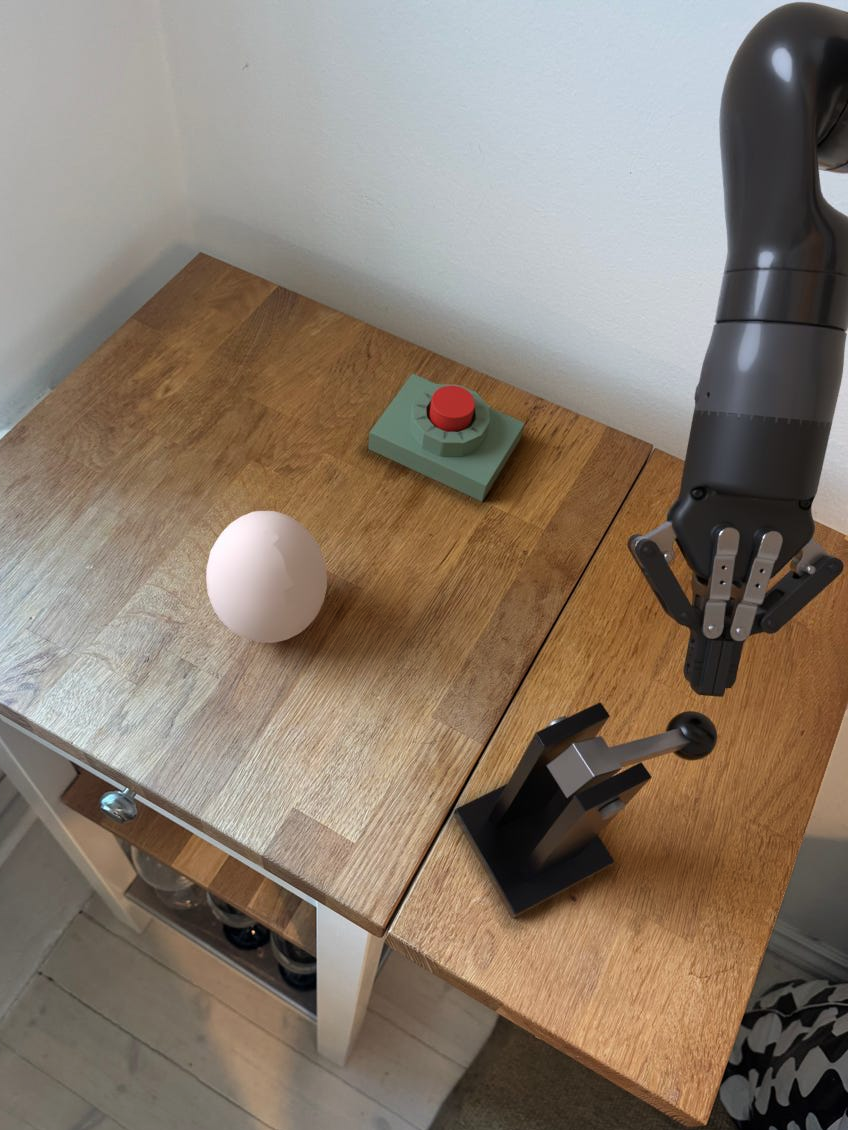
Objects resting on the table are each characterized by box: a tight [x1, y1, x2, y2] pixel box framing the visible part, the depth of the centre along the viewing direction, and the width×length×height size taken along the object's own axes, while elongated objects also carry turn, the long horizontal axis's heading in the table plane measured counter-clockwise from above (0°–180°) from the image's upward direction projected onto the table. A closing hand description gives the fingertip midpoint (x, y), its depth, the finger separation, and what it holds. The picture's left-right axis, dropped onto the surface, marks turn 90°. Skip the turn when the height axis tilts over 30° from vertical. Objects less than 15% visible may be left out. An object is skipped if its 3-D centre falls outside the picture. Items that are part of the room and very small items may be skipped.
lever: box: [547, 710, 718, 798], centre depth 56 cm, size 15×3×3 cm
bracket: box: [452, 701, 652, 919], centre depth 57 cm, size 8×8×16 cm
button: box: [429, 384, 475, 432], centre depth 77 cm, size 4×4×2 cm
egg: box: [205, 510, 328, 644], centre depth 66 cm, size 9×9×12 cm
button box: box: [367, 373, 526, 503], centre depth 79 cm, size 8×11×4 cm
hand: (706, 692), depth 58 cm, fingers closed
